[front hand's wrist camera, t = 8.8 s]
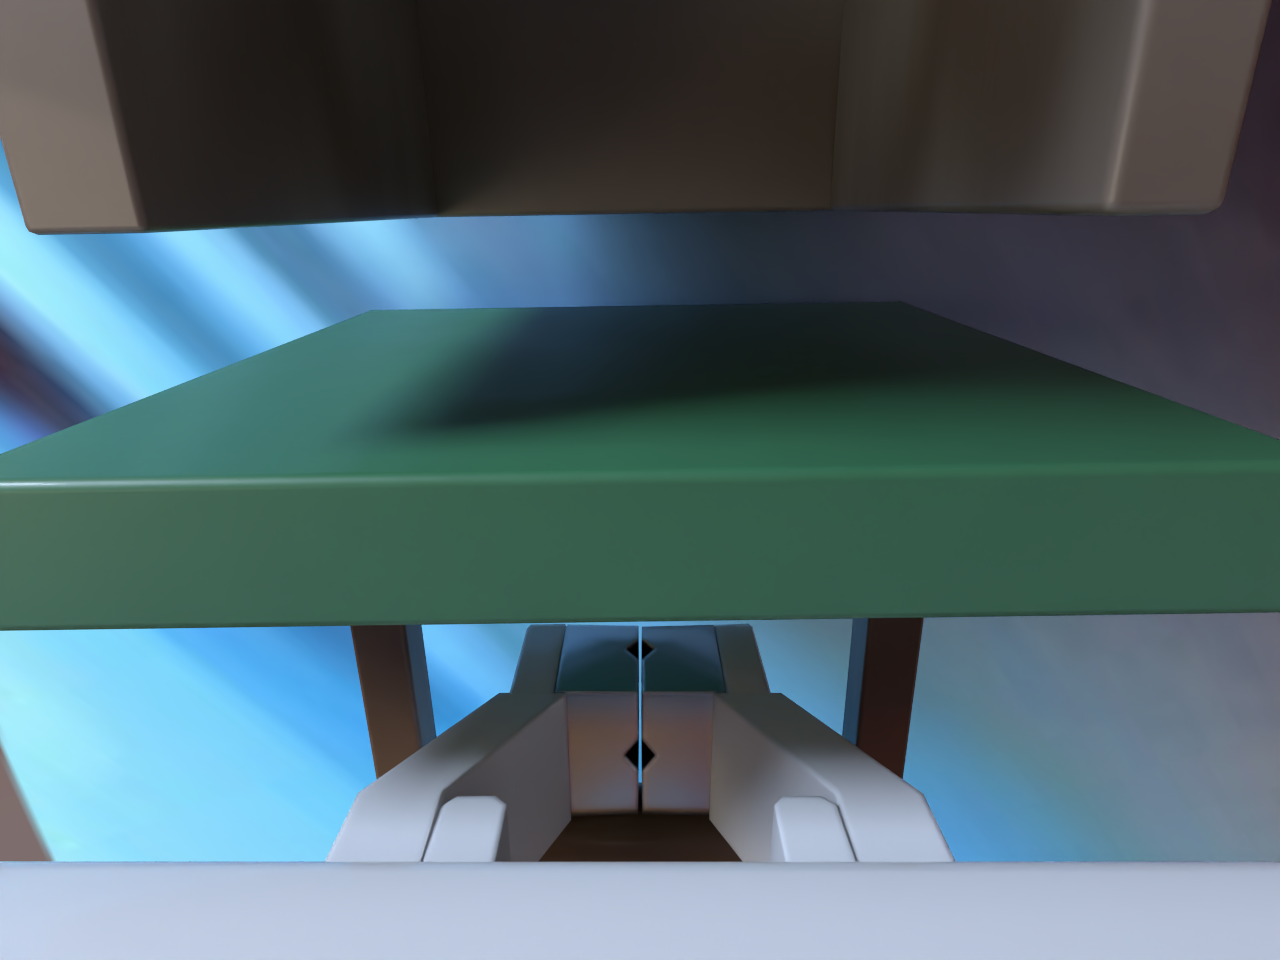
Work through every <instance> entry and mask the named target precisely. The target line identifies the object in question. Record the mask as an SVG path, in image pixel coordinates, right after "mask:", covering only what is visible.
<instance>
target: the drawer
mask: <svg viewBox="0 0 1280 960" xmlns="http://www.w3.org/2000/svg"><path fill="white" fill-rule="evenodd" d="M1271 2H1272V0H0V137H1V141H2V144H3V148H4V151H5V155H6V158H7V162H8V165H9V169H10V172H11V176H12V179H13V183H14V186H15V190H16V193H17V197H18V200H19V204H20V208H21V211H22V215H23V218H24V222H25V225H26V227H27V229H28V230H29V232H32V233H35V234H38V235H56V234H114V233H153V232H171V231H190V230H208V229H226V228H245V227H263V226H282V225H300V224H318V223H337V222H355V221H374V220H392V219H410V218H429V217H470V216H528V215H586V214H644V213H702V212H760V211H818V210H846V211H892V212H938V213H984V214H1030V215H1076V216H1154V215H1203V214H1205V213H1208V212H1210V211H1213V210H1215V209H1217V208H1219V207H1220V205H1221V204H1222V202H1223V200H1224V199H1225V195H1226V191H1227V187H1228V183H1229V178H1230V174H1231V170H1232V166H1233V162H1234V157H1235V153H1236V149H1237V145H1238V140H1239V136H1240V132H1241V128H1242V124H1243V119H1244V115H1245V111H1246V107H1247V103H1248V98H1249V94H1250V90H1251V86H1252V82H1253V77H1254V73H1255V69H1256V65H1257V60H1258V56H1259V52H1260V48H1261V44H1262V39H1263V35H1264V31H1265V27H1266V23H1267V18H1268V14H1269V10H1270V6H1271ZM1267 612H1280V440H1278V439H1275V438H1273V437H1270V436H1267V435H1264V434H1262V433H1259V432H1256V431H1253V430H1251V429H1248V428H1245V427H1243V426H1240V425H1237V424H1234V423H1232V422H1229V421H1226V420H1223V419H1221V418H1218V417H1215V416H1212V415H1210V414H1207V413H1204V412H1202V411H1199V410H1196V409H1193V408H1191V407H1188V406H1185V405H1182V404H1180V403H1177V402H1174V401H1171V400H1169V399H1166V398H1163V397H1161V396H1158V395H1155V394H1152V393H1150V392H1147V391H1144V390H1141V389H1139V388H1136V387H1133V386H1130V385H1128V384H1125V383H1122V382H1120V381H1117V380H1114V379H1111V378H1109V377H1106V376H1103V375H1100V374H1098V373H1095V372H1092V371H1089V370H1087V369H1084V368H1081V367H1079V366H1076V365H1073V364H1070V363H1068V362H1065V361H1062V360H1059V359H1057V358H1054V357H1051V356H1048V355H1046V354H1043V353H1040V352H1038V351H1035V350H1032V349H1029V348H1027V347H1024V346H1021V345H1018V344H1016V343H1013V342H1010V341H1007V340H1005V339H1002V338H999V337H996V336H994V335H991V334H988V333H986V332H983V331H980V330H977V329H975V328H972V327H969V326H966V325H964V324H961V323H958V322H955V321H953V320H950V319H947V318H945V317H942V316H939V315H936V314H934V313H931V312H928V311H925V310H923V309H920V308H917V307H914V306H912V305H909V304H906V303H904V302H901V301H899V302H839V303H779V304H718V305H658V306H598V307H537V308H477V309H416V310H371V311H368V312H365V313H363V314H360V315H358V316H355V317H353V318H350V319H347V320H345V321H342V322H340V323H337V324H335V325H332V326H329V327H327V328H324V329H322V330H319V331H317V332H314V333H311V334H309V335H306V336H304V337H301V338H298V339H296V340H293V341H291V342H288V343H286V344H283V345H280V346H278V347H275V348H273V349H270V350H268V351H265V352H262V353H260V354H257V355H255V356H252V357H250V358H247V359H244V360H242V361H239V362H237V363H234V364H231V365H229V366H226V367H224V368H221V369H219V370H216V371H213V372H211V373H208V374H206V375H203V376H201V377H198V378H195V379H193V380H190V381H188V382H185V383H182V384H180V385H177V386H175V387H172V388H170V389H167V390H164V391H162V392H159V393H157V394H154V395H152V396H149V397H146V398H144V399H141V400H139V401H136V402H134V403H131V404H128V405H126V406H123V407H121V408H118V409H115V410H113V411H110V412H108V413H105V414H103V415H100V416H97V417H95V418H92V419H90V420H87V421H85V422H82V423H79V424H77V425H74V426H72V427H69V428H67V429H64V430H61V431H59V432H56V433H54V434H51V435H48V436H46V437H43V438H41V439H38V440H36V441H33V442H30V443H28V444H25V445H23V446H20V447H18V448H15V449H12V450H10V451H7V452H5V453H2V454H0V631H7V630H77V629H147V628H217V627H287V626H351V632H352V638H353V644H354V649H355V655H356V661H357V667H358V673H359V678H360V684H361V690H362V696H363V702H364V707H365V713H366V719H367V725H368V731H369V737H370V742H371V748H372V754H373V760H374V766H375V771H376V777H377V779H378V778H380V777H381V776H383V775H384V774H386V773H387V772H388V771H390V770H391V769H393V768H394V767H395V766H397V765H398V764H400V763H401V762H403V761H404V760H405V759H407V758H408V757H410V756H411V755H412V754H414V753H415V752H417V751H418V750H419V749H421V748H422V747H424V746H425V745H427V744H428V743H429V742H431V741H432V740H434V739H435V738H436V731H435V723H434V716H433V708H432V701H431V693H430V686H429V678H428V671H427V664H426V656H425V649H424V641H423V634H422V626H421V625H427V624H497V623H567V622H637V621H707V620H777V619H847V618H853V627H852V637H851V648H850V659H849V669H848V680H847V690H846V701H845V712H844V722H843V733H842V737H844V738H845V739H846V740H848V741H849V742H851V743H852V744H854V745H855V746H856V747H858V748H859V749H861V750H862V751H863V752H865V753H866V754H868V755H869V756H870V757H872V758H873V759H875V760H876V761H877V762H879V763H880V764H882V765H883V766H884V767H886V768H887V769H889V770H890V771H892V772H893V773H894V774H896V775H897V776H899V777H900V778H901V779H903V772H904V764H905V756H906V749H907V741H908V734H909V726H910V718H911V711H912V703H913V695H914V688H915V680H916V673H917V665H918V657H919V650H920V642H921V634H922V627H923V619H924V617H987V616H1057V615H1127V614H1197V613H1267ZM538 862H743V861H742V860H741V859H740V858H739V856H738V855H737V854H736V853H735V851H734V850H733V849H732V847H731V846H730V845H729V844H728V842H727V841H726V840H725V839H724V837H723V836H722V835H721V834H720V832H719V831H718V830H717V828H716V827H715V826H714V825H713V823H712V822H711V821H710V820H709V816H686V815H650V814H642V783H638V814H628V815H593V816H571V821H570V822H569V823H568V825H567V826H566V827H565V828H564V830H563V831H562V832H561V833H560V835H559V836H558V837H557V838H556V840H555V841H554V842H553V843H552V845H551V846H550V847H549V849H548V850H547V851H546V852H545V854H544V855H543V856H542V857H541V859H540V860H539V861H538Z"/></svg>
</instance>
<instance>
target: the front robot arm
mask: <svg viewBox="0 0 1280 960" xmlns="http://www.w3.org/2000/svg"><path fill="white" fill-rule="evenodd" d="M641 682H642V705H641V717H642V814H650V815H686V816H709V820H710V821H711V822H712V823H713V825H714V826H715V827H716V828H717V830H718V831H719V832H720V834H721V835H722V836H723V837H724V839H725V840H726V841H727V842H728V844H729V845H730V846H731V847H732V849H733V850H734V851H735V853H736V854H737V855H738V856H739V858H740V859H741V860H742V861H743V862H538V861H539V860H540V859H541V857H542V856H543V855H544V854H545V852H546V851H547V850H548V849H549V847H550V846H551V845H552V843H553V842H554V841H555V840H556V838H557V837H558V836H559V835H560V833H561V832H562V831H563V830H564V828H565V827H566V826H567V825H568V823H569V822H570V821H571V816H593V815H628V814H638V761H639V626H615V625H567V626H566V625H565V624H536V625H530V626H529V627H528V628H527V631H526V634H525V638H524V642H523V646H522V649H521V653H520V657H519V660H518V664H517V668H516V671H515V675H514V679H513V683H512V686H511V690H510V693H499V694H497V695H496V696H494V697H493V698H492V699H490V700H489V701H487V702H486V703H485V704H483V705H482V706H480V707H479V708H477V709H476V710H475V711H473V712H472V713H470V714H469V715H468V716H466V717H465V718H463V719H462V720H460V721H459V722H458V723H456V724H455V725H453V726H452V727H451V728H449V729H448V730H446V731H445V732H444V733H442V734H441V735H439V736H438V737H436V738H435V739H434V740H432V741H431V742H429V743H428V744H427V745H425V746H424V747H422V748H421V749H419V750H418V751H417V752H415V753H414V754H412V755H411V756H410V757H408V758H407V759H405V760H404V761H403V762H401V763H400V764H398V765H397V766H395V767H394V768H393V769H391V770H390V771H388V772H387V773H386V774H384V775H383V776H381V777H380V778H378V779H377V780H376V781H374V782H373V783H371V784H370V785H369V786H367V787H366V788H364V789H363V790H362V791H360V792H359V793H358V794H357V796H356V798H355V800H354V802H353V805H352V807H351V809H350V811H349V813H348V815H347V817H346V819H345V821H344V823H343V825H342V827H341V829H340V831H339V833H338V835H337V837H336V839H335V842H334V844H333V846H332V848H331V850H330V852H329V854H328V856H327V858H326V860H325V862H0V960H1280V862H956V861H955V859H954V857H953V855H952V853H951V851H950V849H949V847H948V845H947V842H946V840H945V838H944V836H943V834H942V832H941V830H940V828H939V826H938V824H937V822H936V820H935V817H934V815H933V813H932V811H931V809H930V807H929V805H928V803H927V801H926V799H925V797H924V795H923V794H922V793H921V792H920V791H918V790H917V789H915V788H914V787H913V786H911V785H910V784H908V783H907V782H906V781H904V780H903V779H901V778H900V777H899V776H897V775H896V774H894V773H893V772H892V771H890V770H889V769H887V768H886V767H884V766H883V765H882V764H880V763H879V762H877V761H876V760H875V759H873V758H872V757H870V756H869V755H868V754H866V753H865V752H863V751H862V750H861V749H859V748H858V747H856V746H855V745H854V744H852V743H851V742H849V741H848V740H846V739H845V738H844V737H842V736H841V735H839V734H838V733H837V732H835V731H834V730H832V729H831V728H830V727H828V726H827V725H825V724H824V723H823V722H821V721H820V720H818V719H817V718H816V717H814V716H813V715H811V714H810V713H808V712H807V711H806V710H804V709H803V708H801V707H800V706H799V705H797V704H796V703H794V702H793V701H792V700H790V699H789V698H787V697H786V696H785V695H783V694H782V693H770V689H769V685H768V682H767V678H766V674H765V671H764V667H763V663H762V660H761V656H760V652H759V649H758V645H757V642H756V638H755V634H754V631H753V627H752V626H751V625H750V624H730V625H692V626H651V627H642V678H641Z"/></svg>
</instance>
